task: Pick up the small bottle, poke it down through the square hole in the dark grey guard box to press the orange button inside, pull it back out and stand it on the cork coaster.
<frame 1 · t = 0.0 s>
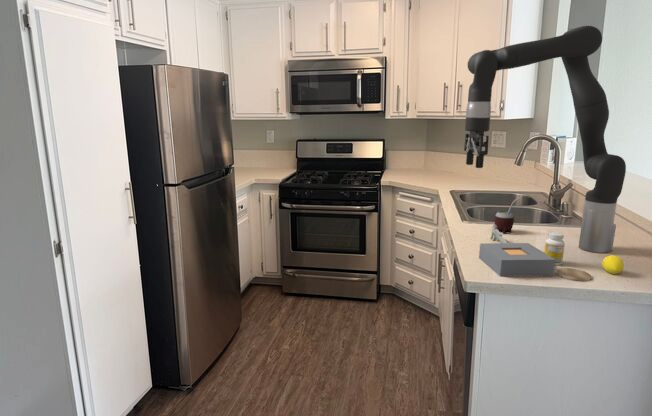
hand: (474, 166, 143), 29 cm above the worktop, tool pointing down, fingers open, 8 cm apart
mate gourd: (504, 232, 172), on the worktop
lemon: (611, 273, 129), on the worktop
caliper: (502, 248, 153), on the worktop
cork coaster: (573, 275, 127), on the worktop
guard box: (514, 266, 134), on the worktop
supplement bottle: (552, 263, 138), on the worktop
breaker button: (515, 254, 133), point 4 cm above the worktop, slide at 0.0 cm
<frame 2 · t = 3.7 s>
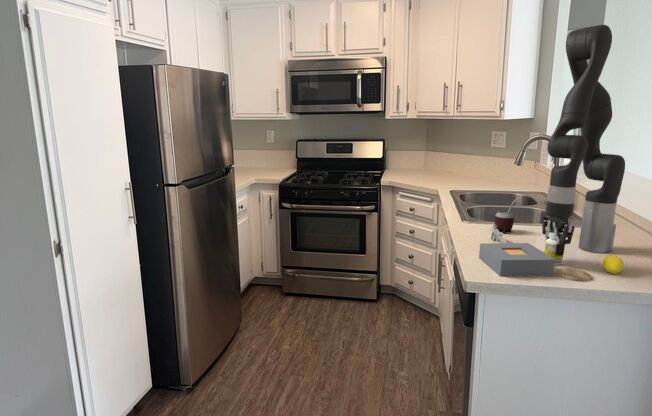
hand: (553, 252, 137), 4 cm above the worktop, tool pointing down, fingers closed on supplement bottle, 5 cm apart
supplement bottle: (552, 263, 138), on the worktop, touching gripper
everything else where it was.
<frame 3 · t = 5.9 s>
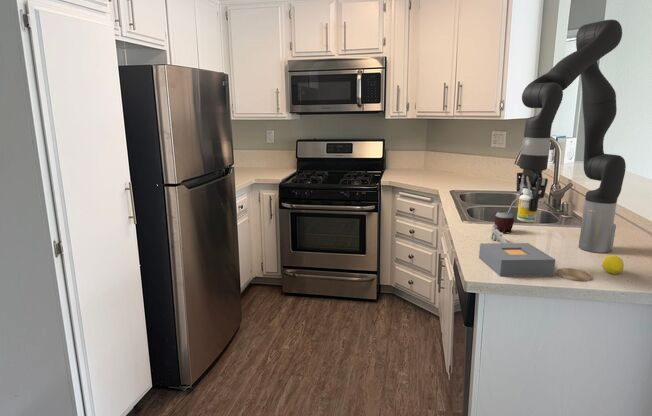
hand: (527, 208, 130), 18 cm above the worktop, tool pointing down, fingers closed on supplement bottle, 5 cm apart
supplement bottle: (526, 220, 131), point 15 cm above the worktop, touching gripper
everything else where it was.
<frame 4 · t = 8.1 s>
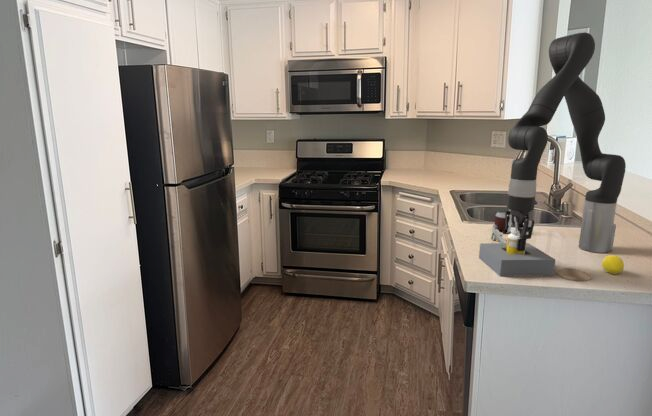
hand: (515, 247, 133), 6 cm above the worktop, tool pointing down, fingers closed on supplement bottle, 5 cm apart
supplement bottle: (514, 258, 134), point 2 cm above the worktop, touching breaker button, gripper
breaker button: (514, 260, 134), point 2 cm above the worktop, slide at 1.9 cm, touching supplement bottle
everything else where it was.
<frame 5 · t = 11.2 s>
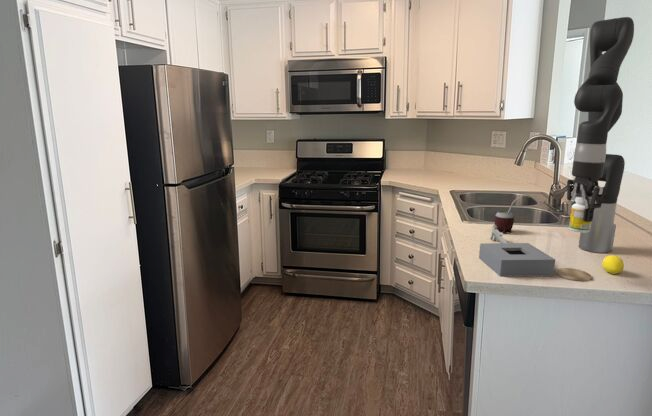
hand: (580, 218, 123), 17 cm above the worktop, tool pointing down, fingers closed on supplement bottle, 5 cm apart
supplement bottle: (579, 231, 124), point 14 cm above the worktop, touching gripper
breaker button: (514, 260, 134), point 2 cm above the worktop, slide at 1.9 cm
everything else where it was.
when the fingers open (5 cm above the worktop, at t = 13.9 s): supplement bottle drops 1 cm, resting on cork coaster.
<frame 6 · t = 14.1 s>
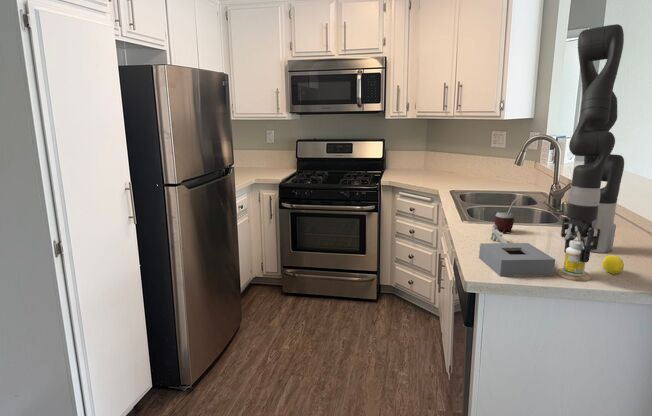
hand: (575, 257, 126), 6 cm above the worktop, tool pointing down, fingers open, 7 cm apart
supplement bottle: (573, 273, 127), resting on cork coaster
everything else where it was.
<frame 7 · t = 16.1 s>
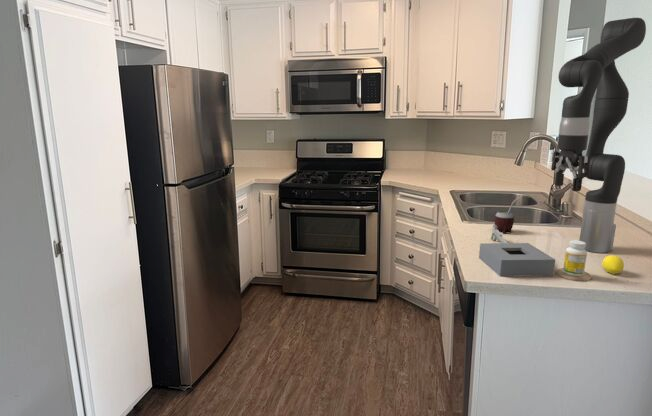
hand: (567, 188, 128), 25 cm above the worktop, tool pointing down, fingers open, 8 cm apart
nothing on the worktop moved.
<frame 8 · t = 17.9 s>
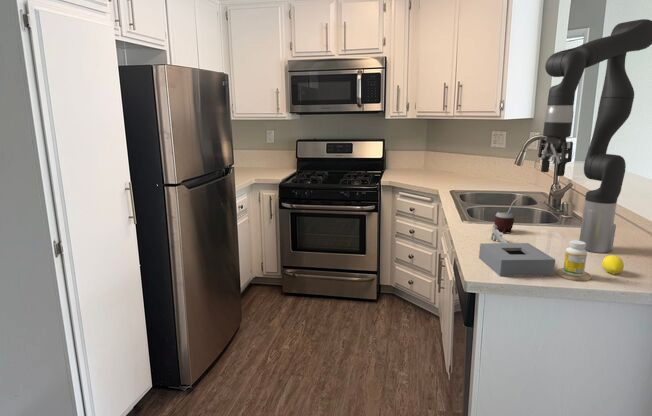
hand: (551, 173, 134), 28 cm above the worktop, tool pointing down, fingers open, 8 cm apart
nothing on the worktop moved.
at the end: breaker button slide at 1.9 cm; supplement bottle 0.2 cm off-centre on the cork coaster, point 0.4 cm above the cork coaster's base; supplement bottle tilted 0° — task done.
